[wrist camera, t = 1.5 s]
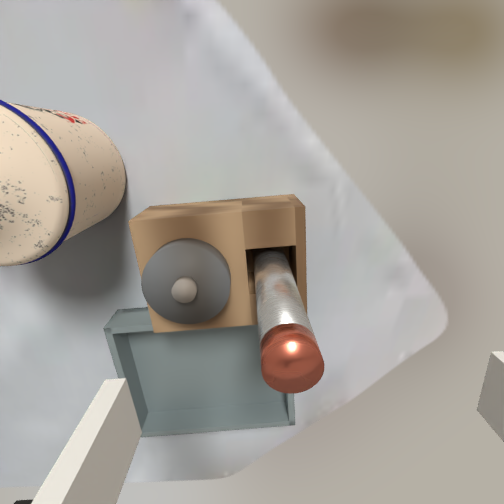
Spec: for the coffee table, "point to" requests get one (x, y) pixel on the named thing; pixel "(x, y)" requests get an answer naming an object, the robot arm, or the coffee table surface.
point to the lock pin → (283, 326)
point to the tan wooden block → (213, 258)
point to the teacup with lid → (52, 180)
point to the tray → (194, 377)
